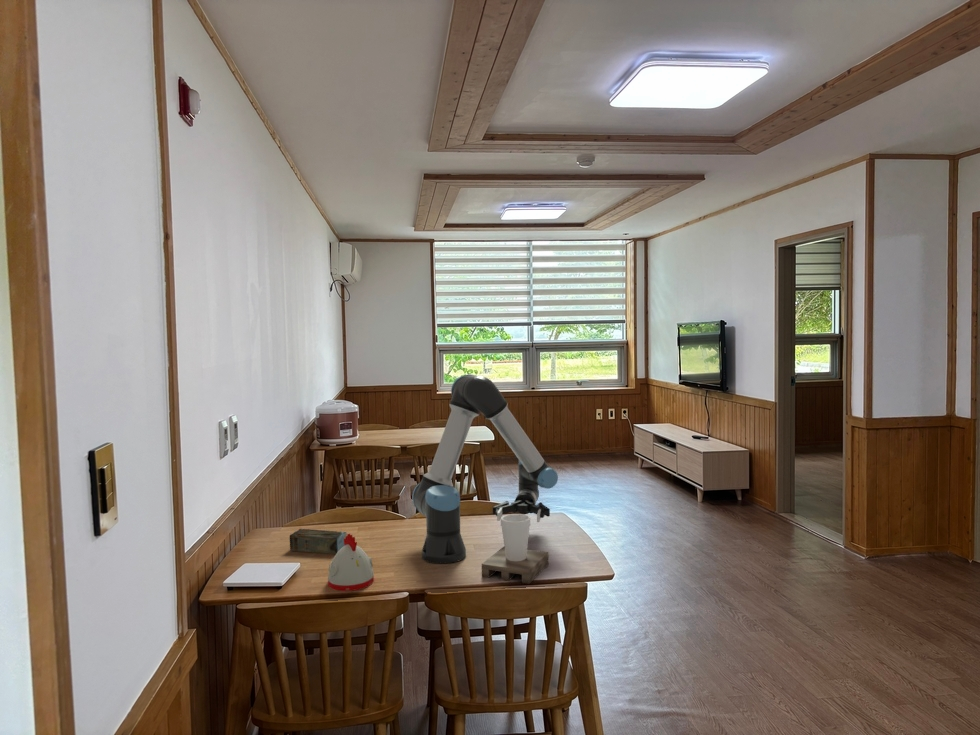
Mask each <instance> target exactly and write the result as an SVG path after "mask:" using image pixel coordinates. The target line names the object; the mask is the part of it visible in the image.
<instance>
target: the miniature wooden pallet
mask: <svg viewBox="0 0 980 735" xmlns="http://www.w3.org/2000/svg"><path fill="white" fill-rule="evenodd" d="M548 566H549V551H541V550H534V549H528V548H527V554H526V559H525V560H522V561H510V560H508V559H507V558H506V553H505V546H502V547H501V548H500V549H498V551H496V552H495V553H494V554H492V555H490V557H489V558H487V559H486V560H484V562H482V563H481V577H484V578H490V577H491V576H492V575H493V574H495V573H496V572H501V580H503V581H510V580H511V579H512V578H513V577H515V576H516V575H521V583H522V584H528V585H529V584H531V583H532V581H533V580H535V579H536V578H537V577H538V576H539V575H540V574H541V573H542V572H543V570H545V568H546V567H548Z"/></svg>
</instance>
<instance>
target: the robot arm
mask: <svg viewBox="0 0 980 735" xmlns="http://www.w3.org/2000/svg"><path fill="white" fill-rule="evenodd" d="M450 394H451V399H450V402H449V408H450V410H451V411H450V413H449V416H448V419H447V422H446V425H445V427H444V431H443V433H442V436H441V437H440V441H439V443H438V446H437V448H436V452H435V454H434V457H433V460H432V463H431V466H430V469H429V471H428V472H426V473H424V474H423V475H422V478H421V481H420V482H419V483H417V485H416V486H415V487H414V489H413V491H412V495H411V496H412V497H411V498H412V499H411V501H412V504H413V506H414V507H415V510H416V511H418V513H420V514H421V515H422V516H423V517H425V520H426V523H425V524H426V536H425V539H424V543H423V547H422V549H421V559H422V560H424V561H426V562H428V563H431V564H451V563H456V562H459V561H461V560H463V559H465V558H466V555H467V552H466V551H467V549H466V545H465V543H464V539H463V537H462V534H461V497H460V492H459V490H458V489H457V488H455V487H454V484H453V481H452V478H453V476H454V473H455V469H456V467H457V465H458V462H459V458H460V456H461V454H462V453H461V452H462V451H463V447H464V445H465V442H466V440H467V436H468V434H469V431H470V428H471V425H472V422H473V420H474V419H475V418H476V417H479V415H480V413H481V415H483V417H484V418H485V419H486V420H490V422H491V423H492V424H493V426H494V428H495V429H496V430H497V431H498V433H499V434H500V436H501V437H502V438H503V439H504V441H505V443H506V444H507V445H508V447H509V448H510V449H511V451H512V452H513V453H514V455H515V456H516V458H517V459H518V465H517V467H518V493H517V495H516V497H515V498H514V502H511V503H510V502H509V501H508V500H506V501H504V502H502V503H499V504H496V505H494V506H492V515H495V517H497V519H496V520H497V521H498V522H499V521H500V522H501V517H502V516H503V515H506V514H510V513H512V514H516V513H518V514H523V515H528V514H534V515H536V523H540V522H541V518H542V519H543V518H544V517H545V516H546V517H550V516H551V515H550V514H551V510H550V508H549V507H547V506H546V505H544V503H543V502H538V503H537V501H538V499H539V497H540V491H539V487H540V488H544V489H548V490H549V489H552V488H554V487H555V486H556V484H557V483H558V479H559V475H558V473H557V471H556V470H555V469H554V468H553V467H550V466H549V465H548V463H547V462H546V460H545V459H544V458H543V457H542V455H541V453H540V452H539V451H538V449H537V448H536V446H535V445H534V443H533V442H532V440H531V439H530V438H529V436H528V435H527V433H526V432H525V430H524V429H523V428H522V427H521V424H519V422H518V420H517V419H516V417H515V416H514V414H513V413H512V412H511V411H510V409H509V407H508V404H509V403H508V401H507V400H506V399H505V397H504V396H503V394H502V392H501V391H500V390H499V388H498V387H497V385H496V384H495V383H494V382H493V381H492V380H491V379H490V378H488V377H486V376H483V375H477V374H464V375H461V376H459V377H458V378H456V379H455V380H454V381H453V383H452V386H451V389H450ZM536 503H537V504H536Z"/></svg>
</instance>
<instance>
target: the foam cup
mask: <svg viewBox="0 0 980 735" xmlns="http://www.w3.org/2000/svg"><path fill="white" fill-rule="evenodd" d="M500 526H501V530H502V531H501V532H502V539H503V544H504V546H505V553H506V558H507V559H508V560H510V561H522V560H525V559H526V554H527V549H528V543H529V535H530V534H529V533H530V526H531V517H530V516H529V515H528V514H521V513H511V514H510V513H508V514H504V515H502V517H501V519H500ZM504 546H503V547H504Z"/></svg>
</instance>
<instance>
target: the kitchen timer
mask: <svg viewBox="0 0 980 735" xmlns="http://www.w3.org/2000/svg"><path fill="white" fill-rule="evenodd" d="M345 538H346V539H344V544H345V546H343V547H342V548H341V549H340V550H339V551H338V552H337V554H334V557H333V559H332V561H331V562H329V565H328V566H329V567H328V577H327V585H328V587H329V588H330V589H332V590H335V591H340V592H341V591H345V592H347V591H349V592H351V591H356V590H361V589H365V588H367V587H369V586H370V585H372V584H373V582H375V578H374V575H375V574H374V570H373V561H372V557H371V556H368V555H367V553H366V552H365V551H364V550H363V548H362V547H360V546H358V544H357V543H358V541H356V537H355V536H353V534H351V533H347V536H345Z"/></svg>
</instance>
